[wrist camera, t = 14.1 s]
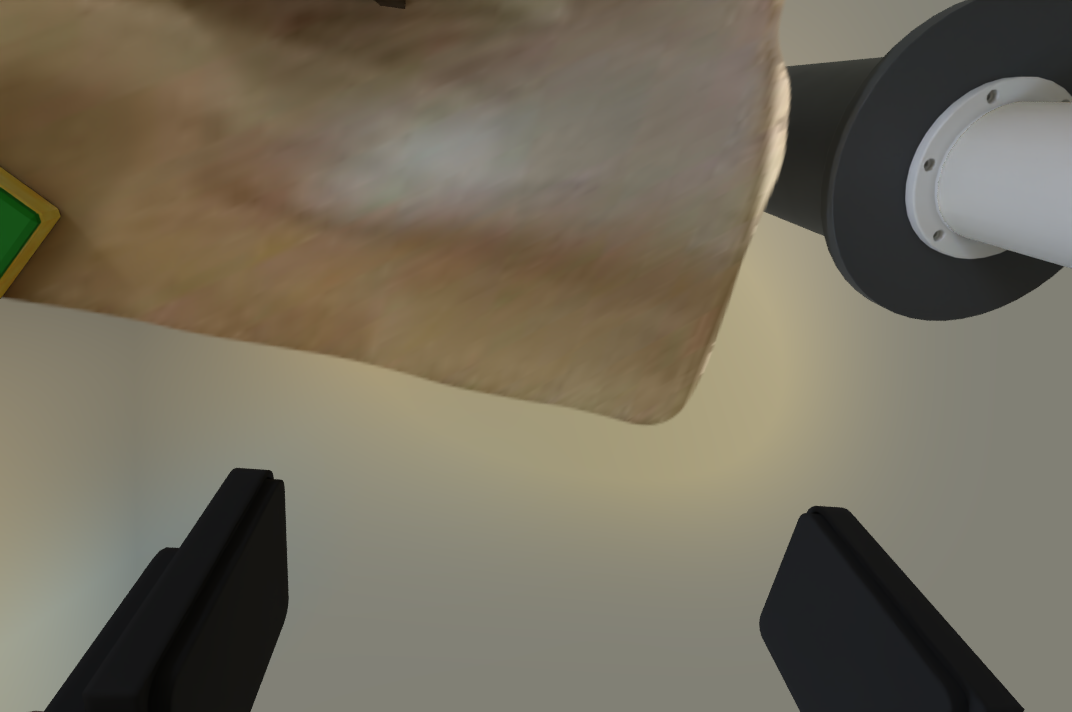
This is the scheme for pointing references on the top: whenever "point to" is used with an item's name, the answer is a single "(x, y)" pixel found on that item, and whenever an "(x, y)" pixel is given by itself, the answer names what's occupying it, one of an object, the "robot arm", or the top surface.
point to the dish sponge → (21, 226)
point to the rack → (392, 3)
